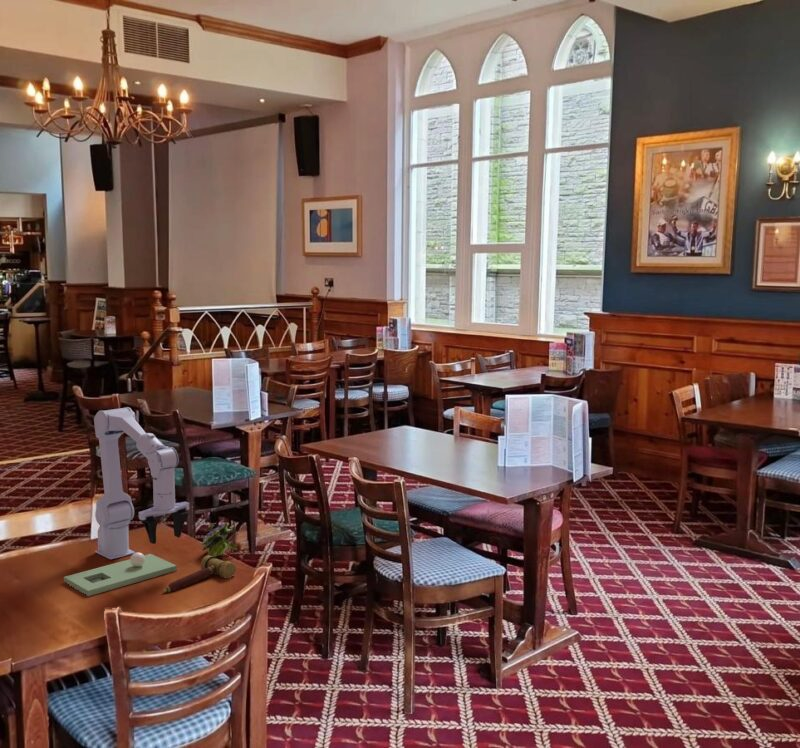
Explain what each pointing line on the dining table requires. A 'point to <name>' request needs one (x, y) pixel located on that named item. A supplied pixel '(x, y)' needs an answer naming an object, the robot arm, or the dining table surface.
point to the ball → (137, 559)
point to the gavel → (204, 573)
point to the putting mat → (118, 575)
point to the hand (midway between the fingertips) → (165, 539)
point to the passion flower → (218, 539)
